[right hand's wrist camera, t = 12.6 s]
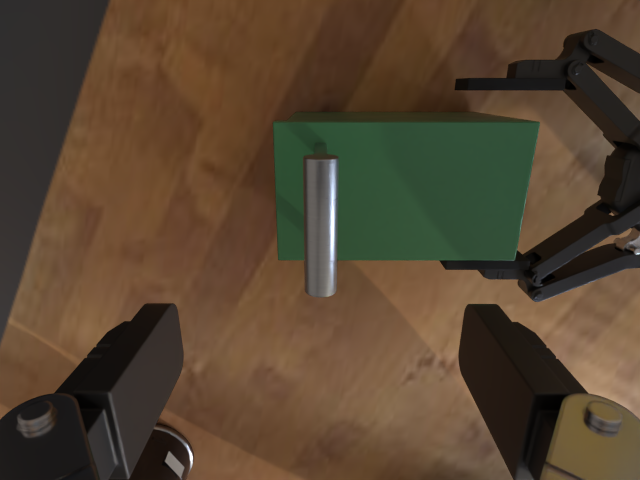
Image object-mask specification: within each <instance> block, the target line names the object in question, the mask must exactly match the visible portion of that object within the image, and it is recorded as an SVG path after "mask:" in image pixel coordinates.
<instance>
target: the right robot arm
mask: <svg viewBox="0 0 640 480" xmlns="http://www.w3.org/2000/svg"><path fill="white" fill-rule="evenodd" d="M182 366H183V345H182V338H181V331H180V324H179V316H178V310H177V307H176V305H175V304H173V303H147V304H144V305H143V307H142V308H141V309H140V310H139V312H138V313H137V314H136V315H135V316H134V318H133V319H132V320H131V321H124V322H123V323H121V324H120V325H118V326H116V327H115V328H113V329H112V330H110V331H109V332H107V333H106V334H105V336H104V337H103V338H102V339H101V340H100V341H99V342H98V344H97V346H96V347H94V348H93V349H92V350H91V352H90V353H89V354H88V355H87V358H85V359H84V360H83V361H82V362H81V363H80V364H79V365H78V367H77V368H76V369H75V370H74V371H73V372H72V373H71V375H70V376H69V377H68V378H67V379H66V380H65V381H64V383H63V384H62V385H61V386H60V387H59V388H58V389H57V391H56V392H55V393H54V394H47V395H43V396H39V397H36V398H33V399H31V400H28V401H26V402H24V403H22V404H20V405H19V406H17V407H15V408H14V409H12V410H11V411H9V412H8V413H7V414H6V415H5V416H3V417H2V419H1V420H0V480H186V479H187V476H188V474H189V472H190V470H191V467H192V464H193V460H194V454H193V450H192V447H191V445H190V444H189V442H188V441H187V440H186V438H185V437H184V436H183V435H181V434H180V433H179V432H177V431H175V430H174V429H172V428H170V427H167V426H164V425H160V424H156V423H157V421H158V419H159V417H160V415H161V413H162V411H163V409H164V406H165V404H166V402H167V400H168V398H169V396H170V394H171V392H172V390H173V388H174V386H175V384H176V382H177V380H178V378H179V376H180V373H181V370H182ZM459 366H460V371H461V374H462V376H463V378H464V380H465V382H466V384H467V386H468V388H469V390H470V393H471V395H472V397H473V399H474V401H475V403H476V405H477V407H478V409H479V411H480V413H481V415H482V417H483V419H484V421H485V423H486V425H487V427H488V429H489V431H490V433H491V435H492V437H493V439H494V441H495V443H496V445H497V447H498V449H499V451H500V453H501V455H502V457H503V459H504V461H505V463H506V465H507V467H508V469H509V471H510V473H511V475H512V477H513V479H514V480H640V420H639V419H638V417H636V416H635V415H634V414H633V413H632V412H631V411H629V410H628V409H626V408H625V407H623V406H621V405H620V404H618V403H616V402H614V401H612V400H609V399H607V398H604V397H601V396H597V395H593V394H588V392H587V391H586V390H585V389H584V388H583V387H582V386H581V384H580V383H579V382H578V381H577V380H576V379H575V378H574V377H573V375H572V374H571V373H570V372H569V371H568V370H567V369H566V367H565V366H564V365H563V364H562V363H561V362H560V361H559V359H556V356H555V355H554V354H553V353H552V352H551V350H550V349H549V348H546V345H545V344H544V342H543V341H542V340H541V339H540V338H539V337H538V336H537V335H536V333H534V332H533V331H531V330H530V329H528V328H526V327H525V326H523V325H522V324H520V323H518V322H512V321H511V320H510V319H509V318H508V317H507V315H506V314H505V313H504V312H503V310H502V309H501V308H500V307H499V306H498V305H497V304H468V305H467V306H466V308H465V312H464V318H463V325H462V332H461V339H460V347H459Z"/></svg>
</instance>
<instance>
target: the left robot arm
mask: <svg viewBox="0 0 640 480" xmlns="http://www.w3.org/2000/svg"><path fill="white" fill-rule="evenodd" d="M563 47H564V49H563V51H562V53H561V54H560V56H559V57H558V58H557V59H555V60H521V61H515V62H513V63H511V64H508V71H507V78H464V79H456V83H455V90H563V91H564V92H565V93H566V94H567V95H568V96H569V97H570V98H571V99H572V100H573V101H574V102H575V103H576V104H577V106H578V107H579V108H580V109H581V110H582V111H583V112H584V113H585V114H586V115H587V116H588V117H589V118H590V119H591V120H592V121H593V122H594V123H595V124H596V125H597V126H598V127H599V128H600V129H601V130H602V131H603V136H604V137H605V138H606V139H607V140H608V141H609V142H610V143H611V144H612V145H613V146H614V147H615V150H614V151H613V152H612V154H611V156H607V158H606V162H605V176H604V178H603V180H602V182H601V184H600V186H599V190H598V194H597V195H599V196H601V200H599V201H598V202H596V203H595V204H593V205H592V206H590V207H589V208H587V209H586V210H585V211H584V215H583V216H581V217H580V218H578V219H577V220H575V221H574V222H572V223H570V224H569V225H567V226H566V227H564V228H563V229H561V230H560V231H558V232H557V233H555V234H554V235H552V236H551V237H549V238H547V239H546V240H544V241H543V242H541V243H540V244H538V245H537V246H535V247H534V248H532V249H531V250H529V251H528V252H526V253H524V254H523V255H522V254H521V253H520V252H519V251H517V252H516V258H515V260H439V261H440V262H441V264H442V265H443V266H444V268H445V269H446V270H478V271H479V272H480V273H481V274H482V276H483V277H485V278H488V279H519V280H518V286H519V287H520V288H521V289H522V290H523V291H524V292H525V293H526V294H527V295H528V296H529V297H530V298H531V299H532V300H533V301H535V302H540V301H543V300H545V299H548V298H551V297H553V296H556V295H559V294H561V293H564V292H566V291H569V290H572V289H574V288H577V287H580V286H582V285H585V284H588V283H590V282H593V281H595V280H598V279H601V278H603V277H606V276H609V275H611V274H614V273H617V272H619V271H622V270H624V269H630V268H640V121H639V120H638V119H637V118H636V117H635V116H634V115H633V114H632V113H631V111H630V110H629V109H628V108H627V107H626V106H625V105H624V104H623V103H622V102H621V101H620V100H619V99H618V97H617V96H616V95H615V94H614V93H613V92H612V91H611V90H610V89H609V88H608V87H607V86H606V85H605V83H604V82H603V81H602V80H601V79H600V78H599V77H598V76H597V75H596V74H595V73H594V72H593V71H592V69H591V68H590V67H589V66H588V65H587V64H589V65H590V66H592V67H594V68H596V69H597V70H599V71H601V72H603V73H604V74H606V75H608V76H610V77H611V78H613V79H615V80H617V81H618V82H620V83H622V84H624V85H625V86H627V87H629V88H631V89H632V90H634V91H636V92H638V93H640V54H639V53H637V52H635V51H634V50H632V49H630V48H629V47H627V46H625V45H624V44H622V43H620V42H619V41H617V40H615V39H614V38H612V37H610V36H608V35H607V34H605V33H603V32H602V31H600V30H597V29H594V30H589V31H584V32H579V33H575V34H571V35H569V36H567V37H566V39H565V40H564V43H563ZM586 63H587V64H586ZM611 212H612V213H613V214H614V215H616V216H611V215H609V213H611ZM629 228H632V231H631V233H630V234H629V235H628V236H626V237H623V238H616V239H615V240H614V243H613V244H607V245H603V246H600V247H597V248H594V249H592V250H589V251H587V252H585V251H586V250H588V249H590V248H591V247H593V246H594V245H596V244H598V243H599V242H601V241H602V240H604V239H605V238H607V237H609V236H611V235H619V234H621V233H623V232H625V231H626V230H628V229H629ZM583 252H584V253H583Z"/></svg>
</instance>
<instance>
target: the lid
mask: <svg viewBox="0 0 640 480" xmlns="http://www.w3.org/2000/svg"><path fill="white" fill-rule="evenodd" d="M539 126H540V122H536V121H525V120H276V121H274V122H273V141H274V167H275V192H276V218H277V244H278V260H304V267H305V292H306V293H307V294H308V295H310V296H313V297H328V296H331V295H333V294H335V293H336V291H337V260H515V258H516V252H517V247H518V241H519V236H520V230H521V225H522V219H523V214H524V208H525V203H526V197H527V192H528V186H529V181H530V175H531V170H532V164H533V159H534V153H535V148H536V142H537V137H538V131H539Z"/></svg>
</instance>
